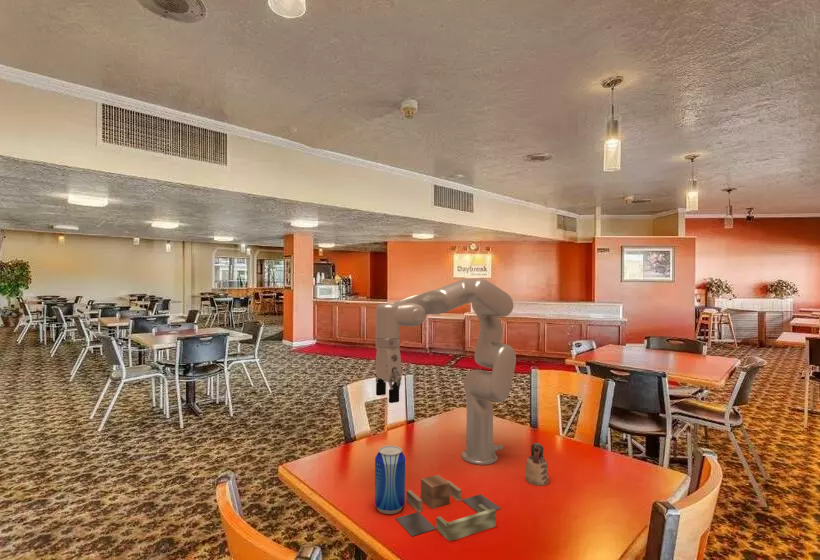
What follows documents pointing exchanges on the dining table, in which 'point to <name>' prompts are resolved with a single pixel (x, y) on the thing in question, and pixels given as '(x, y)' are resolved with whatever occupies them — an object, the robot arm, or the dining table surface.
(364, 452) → the dining table surface
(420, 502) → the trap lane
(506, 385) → the robot arm
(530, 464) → the figurine
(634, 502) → the dining table surface
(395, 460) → the beer can
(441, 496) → the walnut block
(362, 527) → the dining table surface
